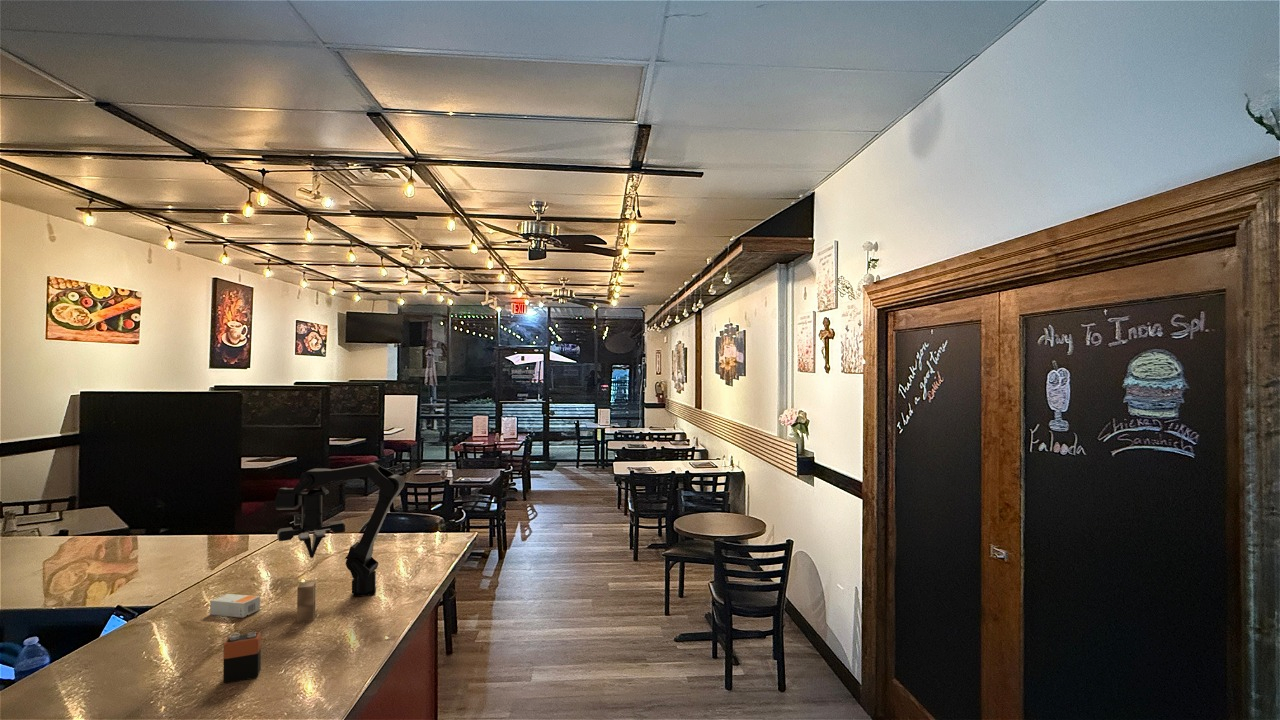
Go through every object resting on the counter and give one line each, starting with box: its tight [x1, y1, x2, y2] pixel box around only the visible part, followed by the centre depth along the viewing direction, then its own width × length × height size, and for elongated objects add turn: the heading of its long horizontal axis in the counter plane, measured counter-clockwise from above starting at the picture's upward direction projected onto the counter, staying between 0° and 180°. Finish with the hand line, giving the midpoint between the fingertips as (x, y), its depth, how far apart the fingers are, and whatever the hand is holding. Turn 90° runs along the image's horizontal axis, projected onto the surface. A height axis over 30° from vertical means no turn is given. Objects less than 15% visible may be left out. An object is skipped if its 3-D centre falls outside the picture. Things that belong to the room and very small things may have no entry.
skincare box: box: [209, 593, 261, 618], centre depth 178 cm, size 6×4×12 cm
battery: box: [222, 631, 262, 684], centre depth 140 cm, size 4×7×10 cm, turn 114°
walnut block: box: [296, 581, 317, 624], centre depth 172 cm, size 4×4×10 cm
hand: (311, 557), depth 192 cm, fingers closed
